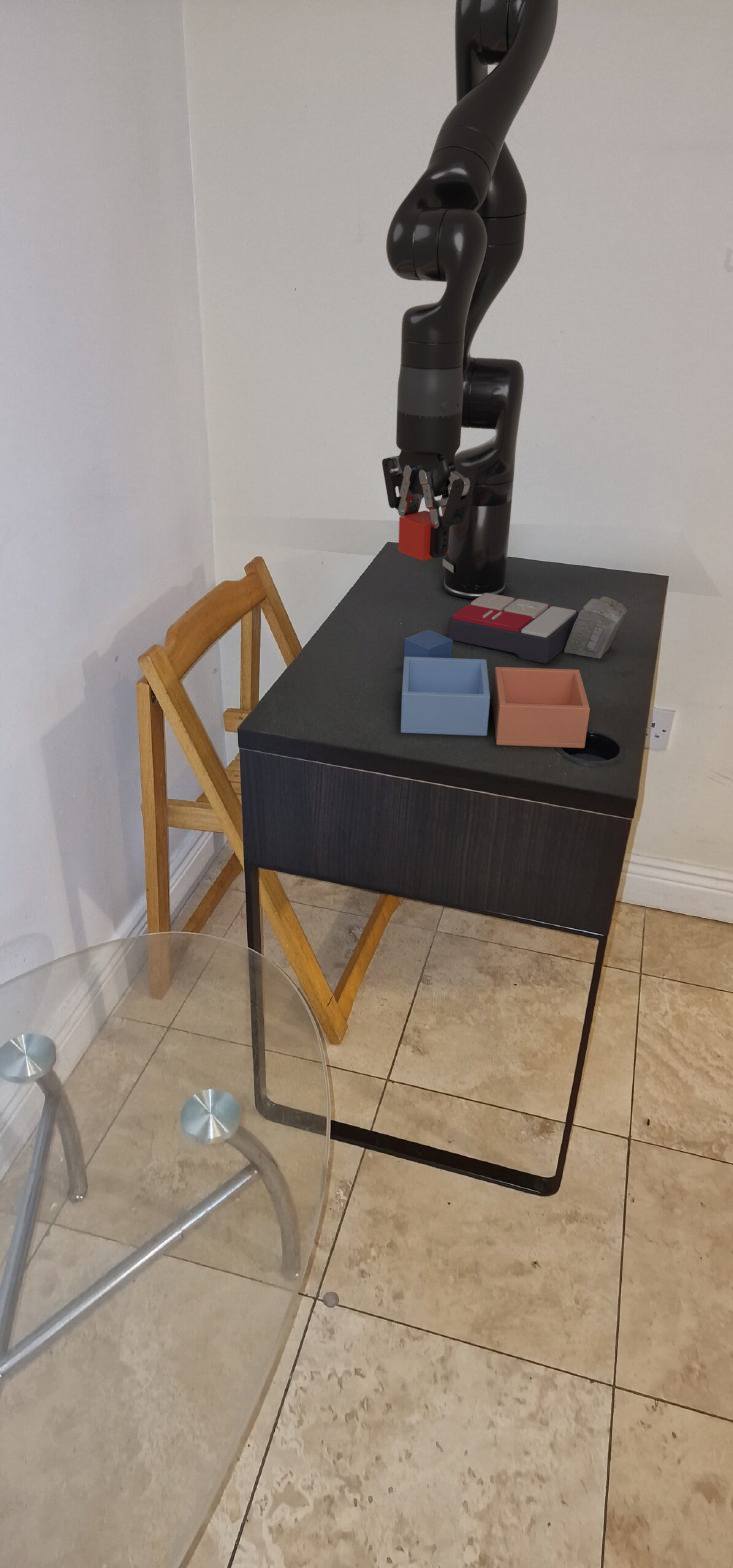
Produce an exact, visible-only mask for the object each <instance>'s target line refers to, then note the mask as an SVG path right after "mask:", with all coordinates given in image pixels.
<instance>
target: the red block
mask: <svg viewBox="0 0 733 1568" xmlns="http://www.w3.org/2000/svg"><path fill="white" fill-rule="evenodd" d="M441 516H442V514H440V517H441ZM398 518H399V519H398V550H397V551H398V553H400V554H403V555H406V556H408V557H411V558H413V559H416V560H419V561H422V562H423V561H424V562H425V561H427V560H432V559H435V558H434V557H431V556H430V534H431V527H433V526H432V524H431V518H430V511H429V510H421V511H418V512H417V513H413V514H409V515H405V516H399V517H398ZM449 530H450V528H449ZM448 541H449V540H448ZM448 544H449V543H448ZM448 548H449V545H448ZM446 554H448V550H447V552H446ZM446 554H445V555H446Z"/></svg>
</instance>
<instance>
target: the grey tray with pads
mask: <svg viewBox="0 0 733 1568" xmlns="http://www.w3.org/2000/svg"><path fill="white" fill-rule="evenodd" d="M578 615H579V611H577V610H575V609H571V608H565V607H559V606H555V605H553V606H549V603H545V602H539V601H534V600H528V599H523V598H517V599H516V600H515V597H511V596H507V595H502V594H501V595H496V594H490V593H484V594H483V595H481V596H480V597H478V598H477V599H473V600H472V601H471V602H470V604H466V605H465V606H464V607H462V608H461V609H459V610H457V611H456V612H454V613H453V614H452V616H451V617H449V618H447V619H448V620H447V637H448V638H450V639H452V640H453V642H454V641H455V642H459V643H465V644H470V645H474V646H479V647H483V648H488V649H493V650H498V651H503V652H507V653H512V654H515V655H516V656H517V657H518V658H520V659H521V660H526V661H530V662H535V663H539V664H548V663H549V662H551V661H552V660H553V659H554V658H555V657H557V655H559V654H560V653H561V652H563V651H564V649H565V647H566V644H567V641H568V639H569V636H570V634H571V631H572V628H573V626H574V623H575V622H576V619H577V618H578Z"/></svg>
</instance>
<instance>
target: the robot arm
mask: <svg viewBox="0 0 733 1568" xmlns="http://www.w3.org/2000/svg"><path fill="white" fill-rule="evenodd" d="M454 9H455V13H454V61H455V62H454V63H455V100H456V101H455V102H456V103H455V106H454V107H453V108H452V109H451V110H450V112H449V113H448V115H447V116H446V117H445V119H444V121H443V123H442V125H441V127H440V130H439V132H438V134H437V137H436V140H435V143H434V146H433V149H432V152H431V155H430V158H429V161H428V163H427V167H426V169H425V171H424V172H423V174H421V176H420V177H419V178H418V180H417V181H416V183H415V184H414V185H413V187H412V188H411V189H410V191H409V192H408V194H407V195H406V196H405V198H404V199H403V200H402V201H401V203H400V205H399V206H398V207H397V210H396V211H395V213H394V214H393V217H392V219H391V221H390V224H389V227H388V230H387V234H386V240H385V254H386V258H387V262H388V265H389V266H390V268H391V270H392V272H393V273H394V274H395V275H396V276H397V277H399V278H401V279H404V280H407V281H417V282H418V281H419V282H420V281H421V282H438V283H439V282H440V283H446V285H445V290H444V292H443V294H442V296H441V298H440V299H438V301H435V302H430V303H424V304H418V305H414V306H411V307H409V308H407V309H406V310H405V312H404V313H403V316H402V319H401V329H400V330H401V333H400V343H401V344H400V367H399V374H398V380H397V381H398V382H397V396H396V397H397V399H396V428H395V429H396V433H395V434H396V435H395V445H396V447H397V449H399V450H400V452H399V455H394V456H389V457H386V458H385V457H384V458H382V460H381V466H382V473H383V477H384V483H385V490H386V496H387V503H388V507H389V508H390V509H395V510H396V511H397V513H398V516H399V517H401V516H405V515H409V514H413V513H417V512H420V507H421V504H422V501H423V499H424V506H425V508H426V509H427V510H428V511H429V512H430V518H431V524H432V526H433V527H431V534H430V556H431V557H434V558H433V559H437V558H441V557H444V556H445V559H444V558H442V567H444V579H443V589H444V591H445V592H446V593H448V594H449V595H451V596H454V597H456V598H457V597H458V598H461V599H467V600H475V599H477V598H478V597H480V596H481V595H483V594H484V593H490V594H496V595H501V596H502V595H503V594H504V593H505V591H506V574H507V565H508V564H507V563H508V562H507V561H508V551H509V540H510V527H511V516H512V504H513V503H512V502H513V490H514V479H515V469H516V467H515V465H516V455H517V454H516V452H517V441H518V433H519V427H520V426H519V425H520V419H521V411H522V405H523V399H524V398H523V396H524V388H525V372H524V369H523V368H524V367H523V365H522V363H521V362H520V361H519V360H517V359H511V358H494V357H475V356H474V357H472V355H471V349H472V345H473V341H474V339H475V336H476V333H477V331H478V329H479V327H480V325H481V324H482V322H483V319H484V318H485V317H486V314H487V312H488V311H489V309H490V308H491V306H492V305H493V303H494V301H495V300H496V298H497V297H498V295H499V294H500V293H501V291H502V290H503V289H504V287H505V285H506V284H507V283H508V280H509V279H510V278H511V276H512V275H513V273H514V272H515V270H516V269H517V266H518V265H519V262H520V260H521V259H522V256H523V252H524V245H525V236H526V235H525V233H526V222H527V221H526V220H527V219H526V218H527V208H528V207H527V205H528V197H527V191H526V187H525V183H524V180H523V178H522V174H521V173H520V170H519V167H518V166H517V164H516V161H515V159H514V157H513V155H512V153H511V151H510V149H509V147H508V144H507V142H506V138H507V136H508V133H509V131H510V128H511V127H512V124H513V122H514V120H515V119H516V117H517V115H518V113H519V112H520V110H521V107H522V106H523V104H524V102H525V100H526V99H527V97H528V95H529V93H530V91H531V89H532V87H533V85H534V83H535V81H536V79H537V77H538V75H539V73H540V71H541V69H542V67H543V65H544V63H545V61H546V58H547V56H548V54H549V52H550V49H551V47H552V43H553V41H554V37H555V33H556V27H557V22H558V13H559V0H455V8H454ZM489 66H495V67H494V68H493V69H492V70H491V71H490V72H489ZM462 428H463V429H464V428H466V429H481V430H493V431H495V434H494V436H492V438H490V439H489V440H487V441H485V442H484V443H481V444H478V445H476V446H473V447H469V448H466V449H463V450H461V451H458V450H459V448H460V447H461V437H462V436H461V435H462ZM457 451H458V452H457ZM396 487H397V488H398V489H397V490H398V496H397V490H396ZM437 497H441V498H439V499H436V498H437ZM440 508H441V513H440ZM440 515H441V517H440ZM449 528H450V530H449ZM448 540H449V541H448ZM448 543H449V544H448ZM448 545H449V548H448ZM447 550H448V554H446V552H447Z"/></svg>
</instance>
